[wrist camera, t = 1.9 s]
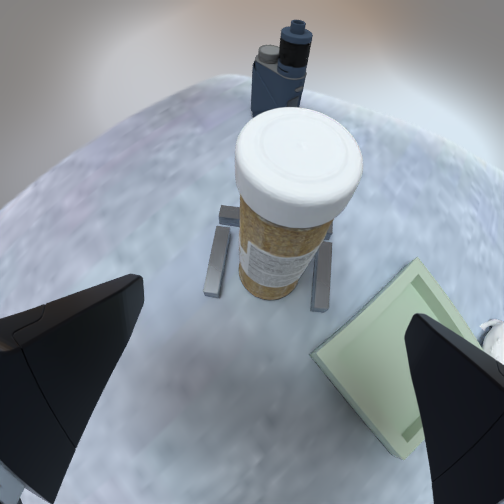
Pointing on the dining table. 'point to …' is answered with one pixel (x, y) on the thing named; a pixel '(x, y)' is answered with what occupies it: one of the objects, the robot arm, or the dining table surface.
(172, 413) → the dining table surface
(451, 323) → the tray
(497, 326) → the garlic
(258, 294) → the sprinkles bottle
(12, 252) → the dining table surface
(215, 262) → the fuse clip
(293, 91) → the vaping device
